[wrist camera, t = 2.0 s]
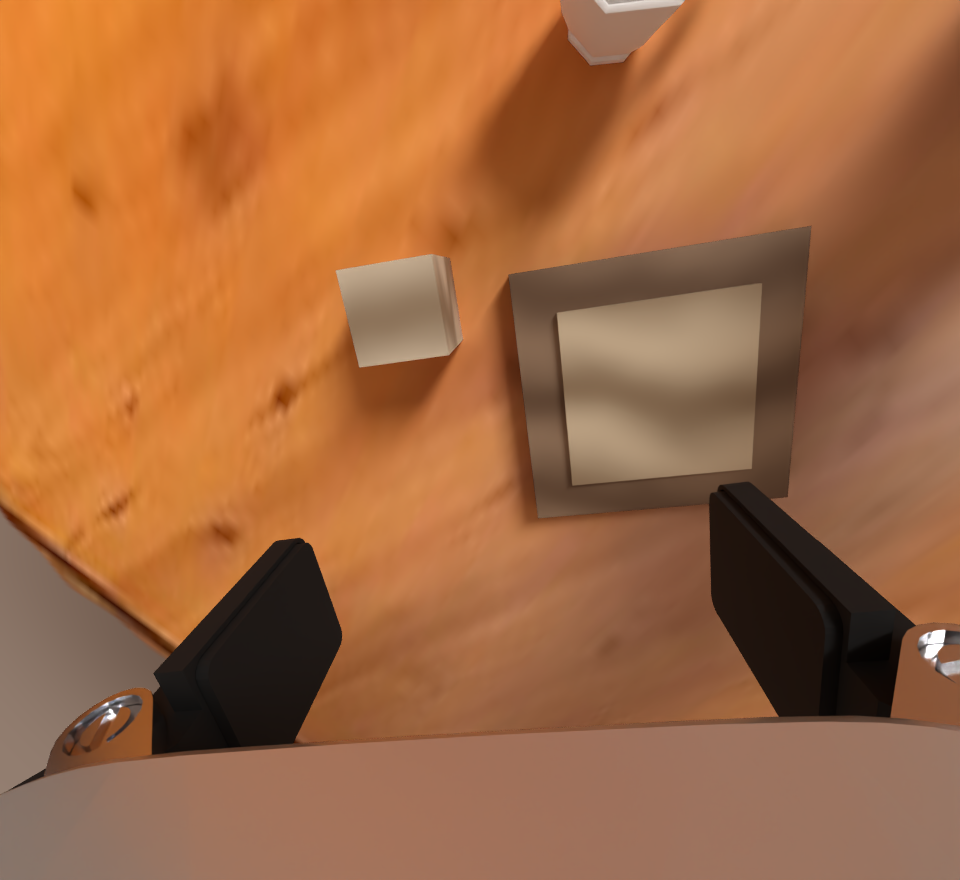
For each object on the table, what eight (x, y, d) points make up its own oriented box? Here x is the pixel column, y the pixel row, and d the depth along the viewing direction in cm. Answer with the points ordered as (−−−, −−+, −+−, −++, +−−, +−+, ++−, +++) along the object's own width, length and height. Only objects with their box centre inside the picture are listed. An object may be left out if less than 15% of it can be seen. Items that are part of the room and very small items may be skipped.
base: (509, 274, 28) (508, 274, 25) (790, 229, 25) (817, 224, 23) (537, 504, 33) (538, 522, 31) (771, 483, 31) (791, 500, 28)
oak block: (372, 271, 28) (335, 270, 23) (450, 257, 28) (431, 254, 22) (390, 349, 30) (359, 367, 24) (463, 339, 29) (448, 355, 24)
